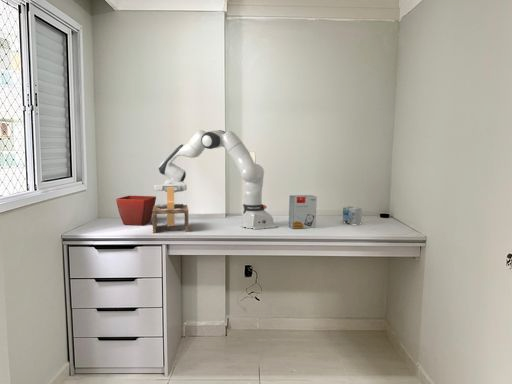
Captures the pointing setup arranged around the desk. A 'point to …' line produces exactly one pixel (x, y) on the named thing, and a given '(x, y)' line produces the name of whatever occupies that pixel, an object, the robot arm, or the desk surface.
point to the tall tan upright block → (170, 205)
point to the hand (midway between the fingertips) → (170, 188)
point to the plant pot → (136, 209)
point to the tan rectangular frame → (177, 207)
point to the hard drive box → (302, 211)
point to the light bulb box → (352, 215)
